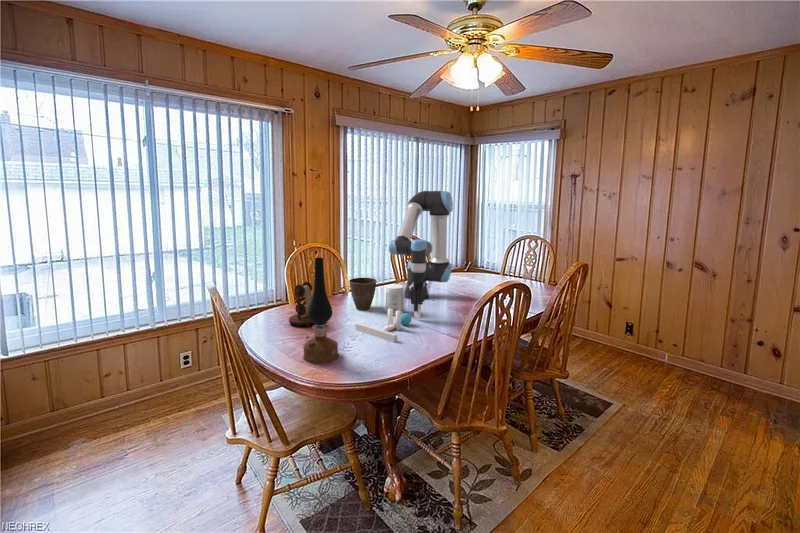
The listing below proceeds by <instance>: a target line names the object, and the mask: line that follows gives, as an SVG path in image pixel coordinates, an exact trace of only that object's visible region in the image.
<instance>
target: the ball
mask: <svg viewBox="0 0 800 533" xmlns="http://www.w3.org/2000/svg"><path fill="white" fill-rule="evenodd" d="M411 323H412V316H411V315H410V314H409V313H407V312H403V313H402V314H401V326H402V325H403V326H408V325H410V324H411Z"/></svg>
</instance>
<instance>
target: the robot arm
mask: <svg viewBox="0 0 800 533" xmlns="http://www.w3.org/2000/svg"><path fill="white" fill-rule="evenodd" d="M453 205H454V204H453V197H452V194H451V192H449V191H444V190H422V191H419V192H417V193H415V195H413V196H412V197H411V198H410V200H409V201H408V203H407V204H406V208H405V209H406V212H405V214H404V217H403V220H402V223H401V225H400V227H399V231H398V233H397V235H396V238H395V239H391V240H390V241H389V243H388V252H389V253H390V255H396V256H410V260H409V261H408V262H407V268H406V269H407V275H406V276H407V278H406V279H407V280H406V281H407V282H406V287H405V291H404V299H405V298H406V299H408V300H410V303H411V305H413V311H414V315H413V317H414V318H418V319H419V318H421V309H422V307H421V306H422V305H423V304H424V302H425V299H428V298H429V296H430V295H429V294H430V293H429V291H428V283H427V282H433V283H434V282H435V283H447V282H449V280H450V278H451V273H452V270H453V268H452V267H453V266H452V263H451V262H450V259H449V258H448V257H447V245H448V244H447V242H448V241H447V232H448V225H447V224H448V217H449V216H450V213H452V212H453V209H454V206H453ZM423 212H428V213H429V216H430V217H431V242H430V241H428V240H425V239H419V238H418V239H413V240H412V237H413V234H414V231H415V228H416V226H417V223H418V220H419V217H420V215H422V213H423ZM430 255H431V258H430V259H429V261H428V260H427V256H430Z"/></svg>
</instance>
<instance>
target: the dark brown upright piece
mask: <svg viewBox="0 0 800 533" xmlns="http://www.w3.org/2000/svg"><path fill="white" fill-rule="evenodd" d="M312 291H313V286H312V284H311V282H309V281H304V282H303V283H302V284H296V285H295V287H294V293H295V295H296V299H295V303H296V305H295V306H294V307H295V308H294V309H295V312H296V313H294V314H293V315H291V316H289V318H288V323H289V325H290V324H291V325H298V326H304V325H306V328H308V327H310V325H312V324H313V325H314V322H312V321H311V320H310V319H309V317H308V308H309V305H310V302H311V299H312ZM302 301H303V302H302ZM301 302H302V303H301Z"/></svg>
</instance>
